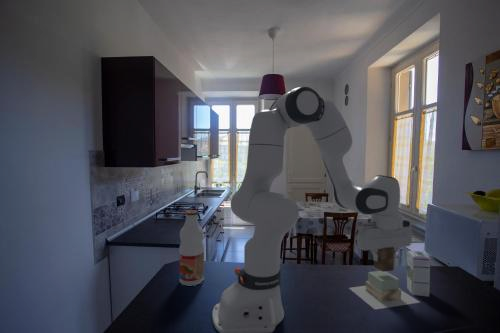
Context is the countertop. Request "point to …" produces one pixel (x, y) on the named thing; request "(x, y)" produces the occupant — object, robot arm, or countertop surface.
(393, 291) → the tower base
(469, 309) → the countertop surface
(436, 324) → the countertop surface
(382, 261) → the walnut block
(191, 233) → the fruit juice
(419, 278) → the syrup box
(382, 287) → the tower top
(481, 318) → the countertop surface
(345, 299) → the countertop surface
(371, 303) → the mat
